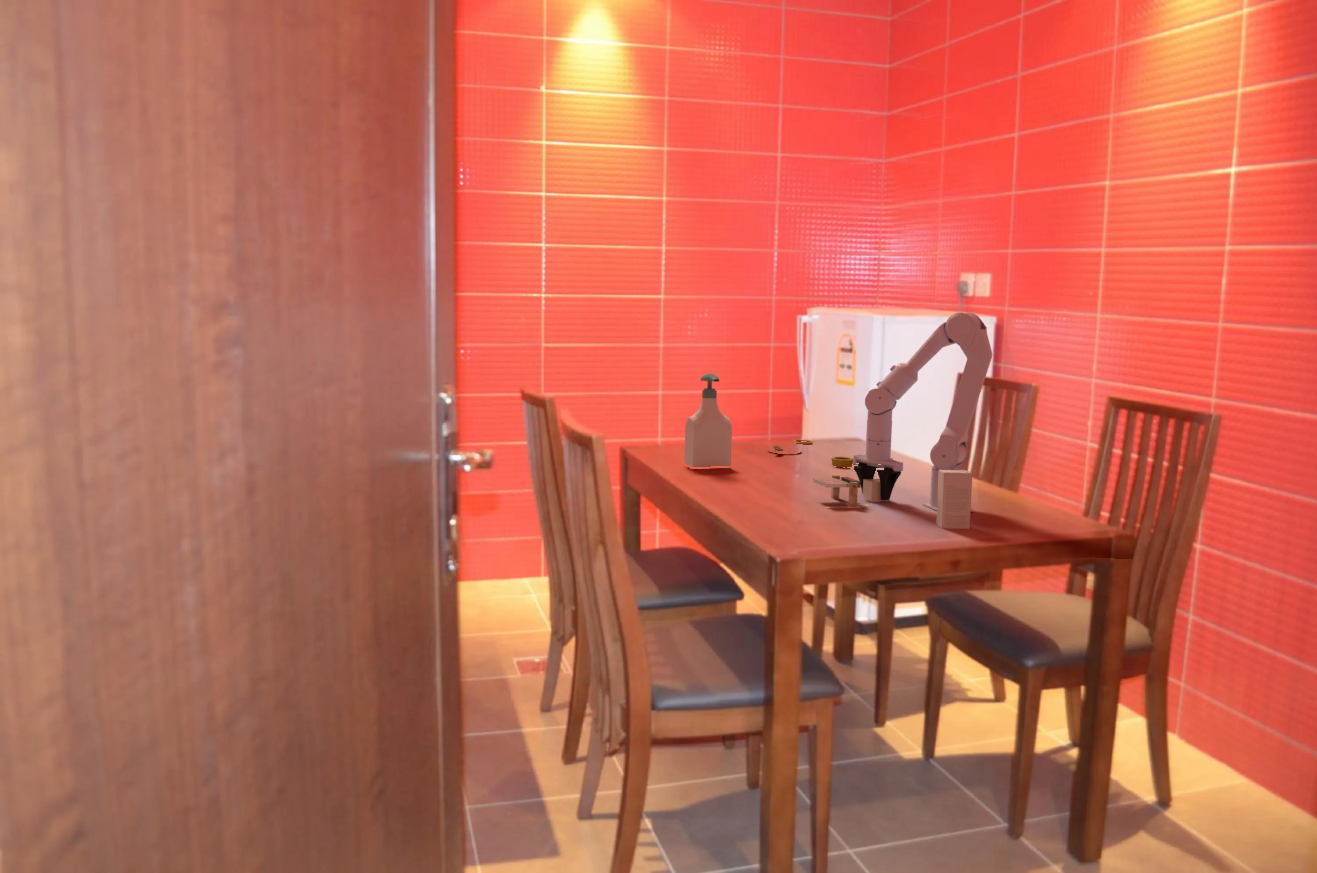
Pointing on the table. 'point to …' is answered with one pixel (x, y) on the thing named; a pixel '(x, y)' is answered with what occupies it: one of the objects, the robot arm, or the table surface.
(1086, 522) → the table surface
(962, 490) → the skincare box
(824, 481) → the trapdoor
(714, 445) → the soap bottle
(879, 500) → the beige block
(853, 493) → the frame
